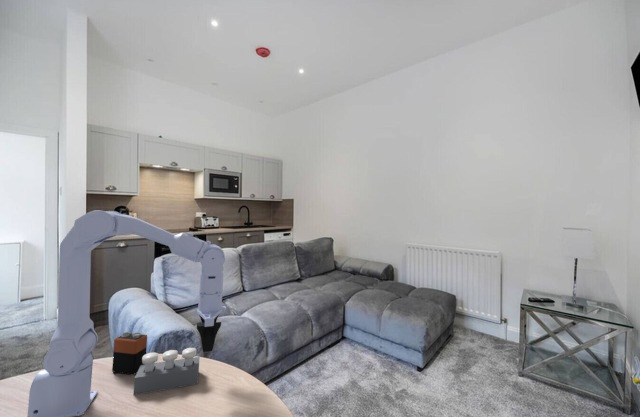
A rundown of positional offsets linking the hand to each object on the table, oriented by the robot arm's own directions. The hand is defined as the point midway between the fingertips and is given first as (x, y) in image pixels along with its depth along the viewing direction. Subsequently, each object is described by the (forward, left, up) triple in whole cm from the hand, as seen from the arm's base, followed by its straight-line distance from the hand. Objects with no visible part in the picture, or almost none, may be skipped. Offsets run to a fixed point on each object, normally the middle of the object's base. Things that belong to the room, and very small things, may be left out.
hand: (207, 344), depth 70 cm
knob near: (-14, +3, -8) cm, 16 cm away
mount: (-9, +3, -10) cm, 14 cm away
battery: (-20, +13, -10) cm, 26 cm away
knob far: (-4, +4, -8) cm, 10 cm away
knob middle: (-9, +4, -8) cm, 12 cm away
